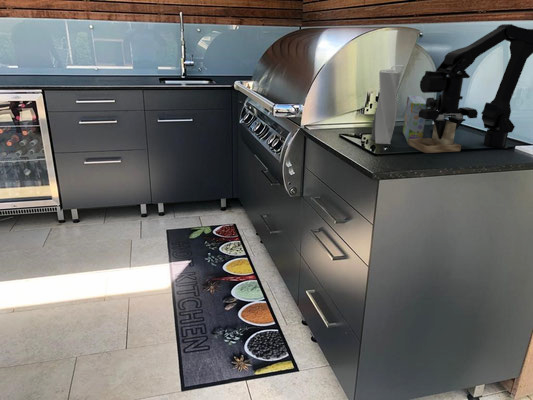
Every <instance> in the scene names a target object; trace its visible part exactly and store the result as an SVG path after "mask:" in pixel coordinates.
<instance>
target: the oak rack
mask: <svg viewBox="0 0 533 400" xmlns="http://www.w3.org/2000/svg"><path fill="white" fill-rule="evenodd" d="M423 140H425V141H428V142H431V143H433V144H434V146H426V145H424V144H422V143H420V142H418V141H423ZM407 146H410V147H412V148H414V149H415V150H418V151H420V152H422V153H425V154H430V153H431V154H432V153H433V154H434V153H448V152H449V153H450V152H461V149H462V145H461V144H458V143H456V142H453V145H443V144H441V143H439V142H436V141H434V140H432V137H429V138H428V137H426V138H422V139H409V141H408V142H407Z"/></svg>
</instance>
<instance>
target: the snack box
mask: <svg viewBox="0 0 533 400" xmlns="http://www.w3.org/2000/svg"><path fill="white" fill-rule="evenodd" d="M406 100H407V101H406V106H405V107H406V108H405V113H404V122H403V128H402V134H403V135H404V137H405V140H406V143H408V141H409V139H422V138H423V137H424V131H425V124H426V121H427V120H426V119H423V118H420V117H418V116H419V111H420V110H421V109H428V108H427V107H426V100H425V98H423V97H422V96H420V95H407V99H406Z"/></svg>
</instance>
